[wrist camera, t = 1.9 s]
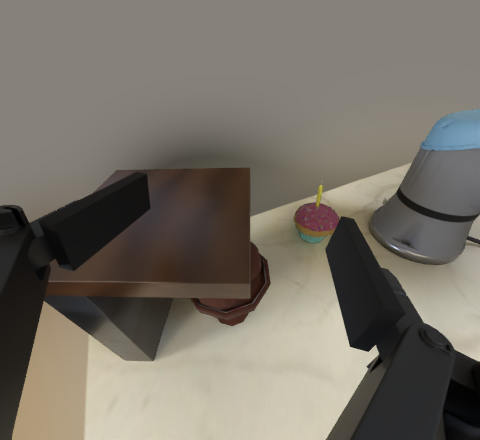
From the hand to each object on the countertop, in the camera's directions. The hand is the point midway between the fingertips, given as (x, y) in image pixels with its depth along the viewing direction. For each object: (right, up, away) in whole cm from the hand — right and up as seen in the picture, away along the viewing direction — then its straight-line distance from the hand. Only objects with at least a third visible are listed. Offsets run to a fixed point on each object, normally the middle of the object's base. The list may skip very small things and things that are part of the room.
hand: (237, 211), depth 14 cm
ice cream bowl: (-1, -15, +19) cm, 24 cm away
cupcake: (+15, -4, +30) cm, 34 cm away
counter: (-7, -14, +19) cm, 25 cm away
